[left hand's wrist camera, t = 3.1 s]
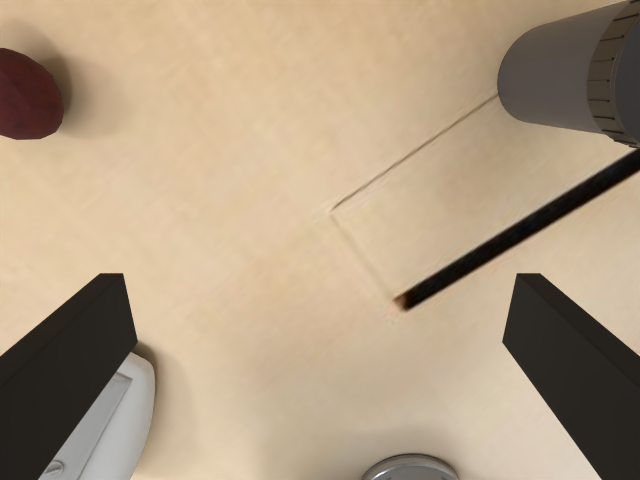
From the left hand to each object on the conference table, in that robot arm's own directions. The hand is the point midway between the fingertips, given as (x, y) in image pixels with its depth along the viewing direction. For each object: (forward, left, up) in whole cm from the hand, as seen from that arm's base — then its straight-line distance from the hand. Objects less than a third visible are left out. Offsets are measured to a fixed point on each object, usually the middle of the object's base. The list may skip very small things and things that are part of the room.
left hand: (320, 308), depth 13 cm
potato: (+6, +27, -28) cm, 39 cm away
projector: (-32, +30, -28) cm, 52 cm away
